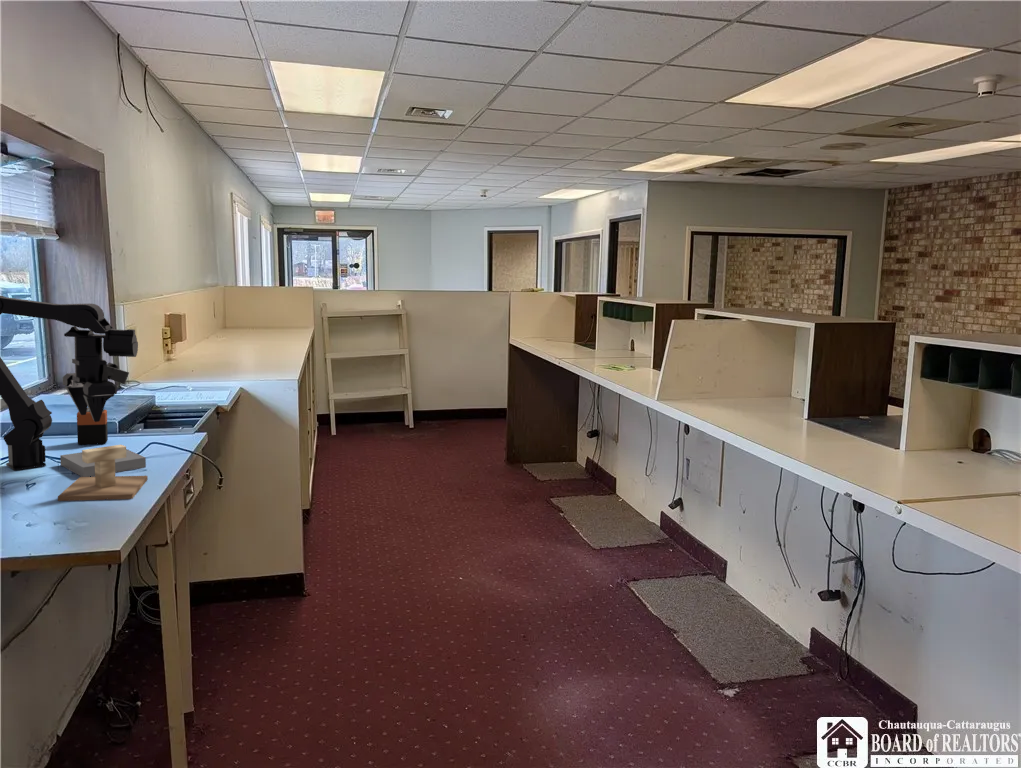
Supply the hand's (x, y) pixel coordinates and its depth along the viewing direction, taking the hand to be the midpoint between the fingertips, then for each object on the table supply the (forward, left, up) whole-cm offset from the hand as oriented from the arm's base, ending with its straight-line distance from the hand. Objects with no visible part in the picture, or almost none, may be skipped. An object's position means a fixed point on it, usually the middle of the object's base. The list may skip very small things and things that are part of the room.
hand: (89, 418), depth 165 cm
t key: (-5, -22, -11) cm, 25 cm away
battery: (+9, +22, -12) cm, 26 cm away
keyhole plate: (+2, -3, -12) cm, 12 cm away
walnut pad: (-5, -22, -12) cm, 26 cm away
